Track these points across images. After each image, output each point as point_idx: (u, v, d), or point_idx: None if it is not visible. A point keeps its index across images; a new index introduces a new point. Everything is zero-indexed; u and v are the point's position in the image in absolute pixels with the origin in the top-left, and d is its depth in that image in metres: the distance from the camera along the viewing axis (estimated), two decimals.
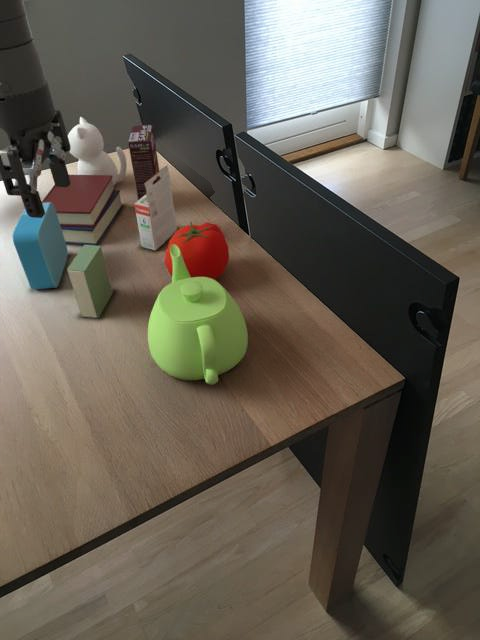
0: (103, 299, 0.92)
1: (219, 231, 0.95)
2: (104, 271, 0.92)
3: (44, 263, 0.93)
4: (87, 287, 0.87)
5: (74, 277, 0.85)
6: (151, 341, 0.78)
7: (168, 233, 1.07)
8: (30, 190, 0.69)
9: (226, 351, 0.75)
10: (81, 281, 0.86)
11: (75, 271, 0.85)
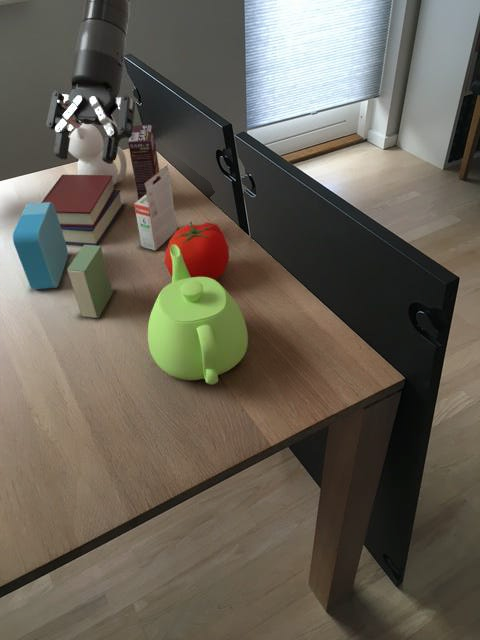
0: (103, 299, 0.92)
1: (219, 231, 0.95)
2: (104, 271, 0.92)
3: (44, 263, 0.93)
4: (87, 287, 0.87)
5: (74, 277, 0.85)
6: (151, 341, 0.78)
7: (168, 233, 1.07)
8: None
9: (226, 351, 0.75)
10: (81, 281, 0.86)
11: (75, 271, 0.85)
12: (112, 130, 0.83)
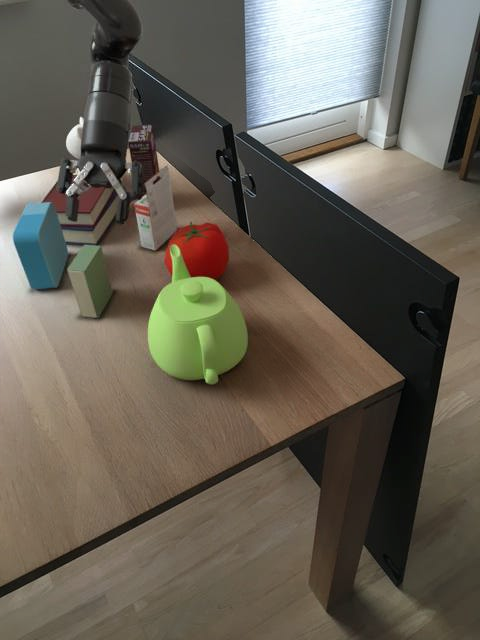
0: (103, 299, 0.92)
1: (219, 231, 0.95)
2: (104, 271, 0.92)
3: (44, 263, 0.93)
4: (87, 287, 0.87)
5: (74, 277, 0.85)
6: (151, 341, 0.78)
7: (168, 233, 1.07)
8: None
9: (226, 351, 0.75)
10: (81, 281, 0.86)
11: (75, 271, 0.85)
12: (124, 194, 0.88)
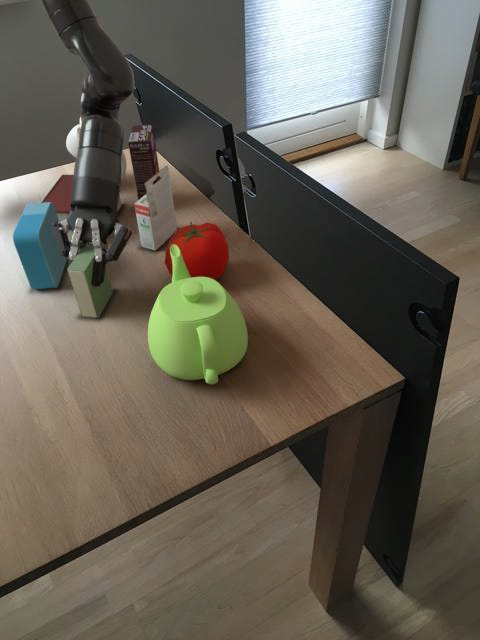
0: (103, 299, 0.92)
1: (219, 231, 0.95)
2: None
3: (44, 263, 0.93)
4: (87, 287, 0.87)
5: (74, 277, 0.85)
6: (151, 341, 0.78)
7: (168, 233, 1.07)
8: None
9: (226, 351, 0.75)
10: (81, 281, 0.86)
11: (75, 271, 0.85)
12: (100, 256, 0.87)
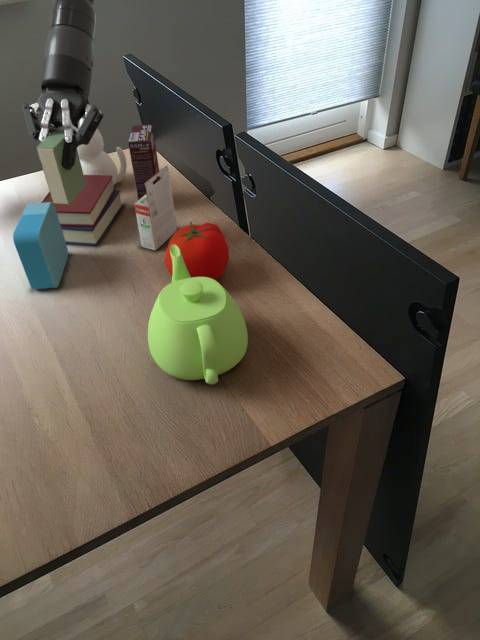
0: (75, 187, 0.91)
1: (219, 231, 0.95)
2: (76, 158, 0.91)
3: (44, 263, 0.93)
4: (57, 168, 0.86)
5: (43, 156, 0.85)
6: (151, 341, 0.78)
7: (168, 233, 1.07)
8: None
9: (226, 351, 0.75)
10: (51, 160, 0.85)
11: (44, 149, 0.84)
12: (70, 137, 0.86)
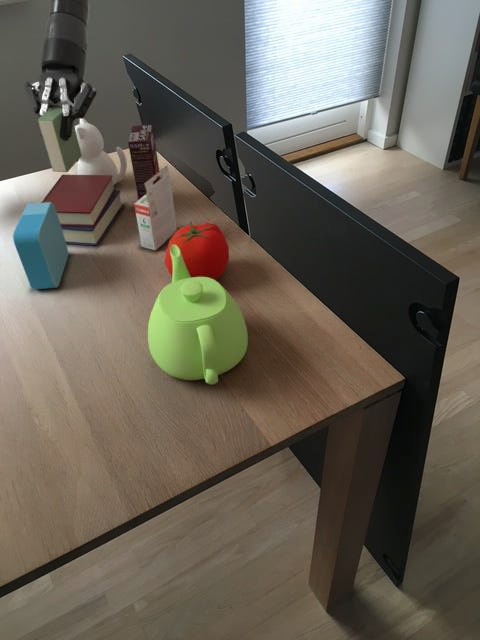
0: (72, 157, 1.03)
1: (219, 231, 0.95)
2: (73, 131, 1.03)
3: (45, 263, 0.93)
4: (56, 138, 0.98)
5: (44, 127, 0.96)
6: (151, 341, 0.78)
7: (168, 233, 1.07)
8: None
9: (226, 351, 0.75)
10: (51, 131, 0.97)
11: (44, 121, 0.96)
12: (67, 111, 0.98)
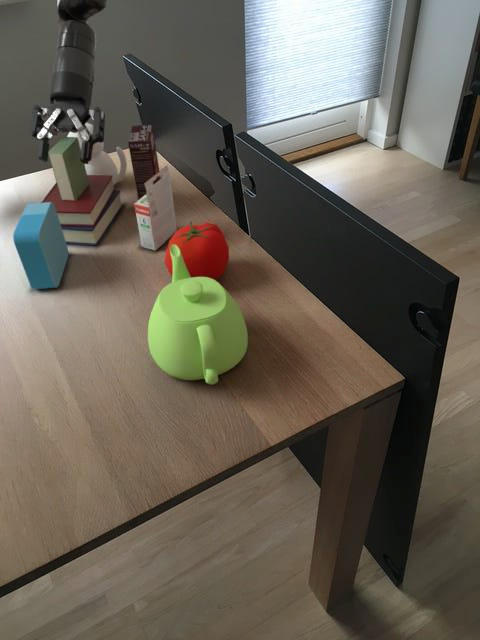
0: (80, 186, 1.08)
1: (219, 231, 0.95)
2: None
3: (45, 263, 0.93)
4: (65, 170, 1.02)
5: (54, 160, 1.01)
6: (151, 341, 0.78)
7: (168, 233, 1.07)
8: None
9: (226, 351, 0.75)
10: (60, 163, 1.01)
11: (55, 153, 1.00)
12: (88, 136, 1.01)
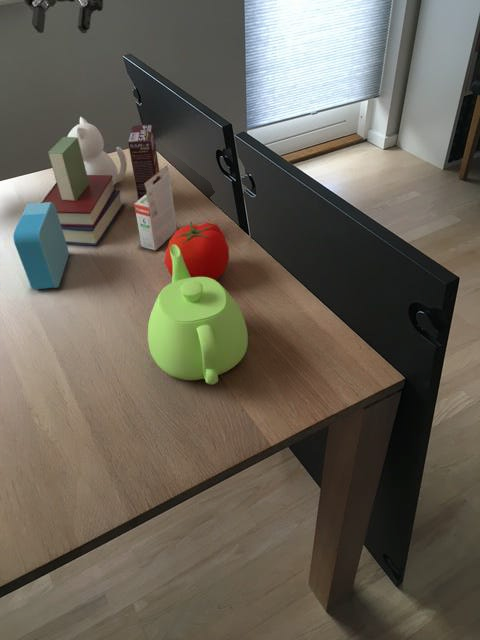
0: (80, 186, 1.08)
1: (219, 231, 0.95)
2: (81, 161, 1.07)
3: (45, 263, 0.93)
4: (65, 170, 1.02)
5: (54, 160, 1.01)
6: (151, 341, 0.78)
7: (168, 233, 1.07)
8: None
9: (226, 351, 0.75)
10: (60, 163, 1.01)
11: (55, 153, 1.00)
12: (86, 1, 0.96)
